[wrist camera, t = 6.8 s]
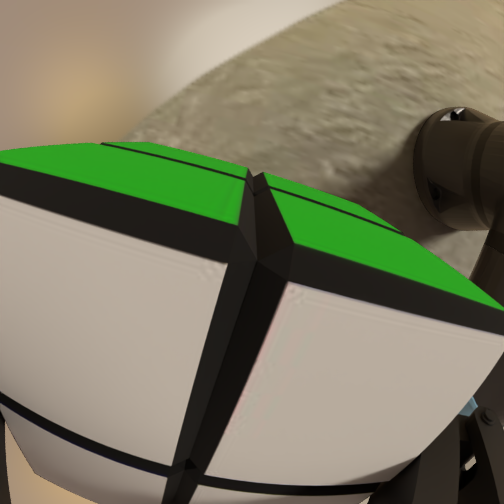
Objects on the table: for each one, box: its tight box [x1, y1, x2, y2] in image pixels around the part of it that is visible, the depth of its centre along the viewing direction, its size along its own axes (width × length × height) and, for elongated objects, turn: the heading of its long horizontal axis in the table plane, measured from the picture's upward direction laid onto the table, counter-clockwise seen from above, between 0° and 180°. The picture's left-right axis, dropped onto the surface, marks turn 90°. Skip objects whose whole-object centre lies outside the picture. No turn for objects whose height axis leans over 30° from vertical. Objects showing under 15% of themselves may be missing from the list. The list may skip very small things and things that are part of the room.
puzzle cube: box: [0, 142, 504, 504], centre depth 9 cm, size 10×10×10 cm
